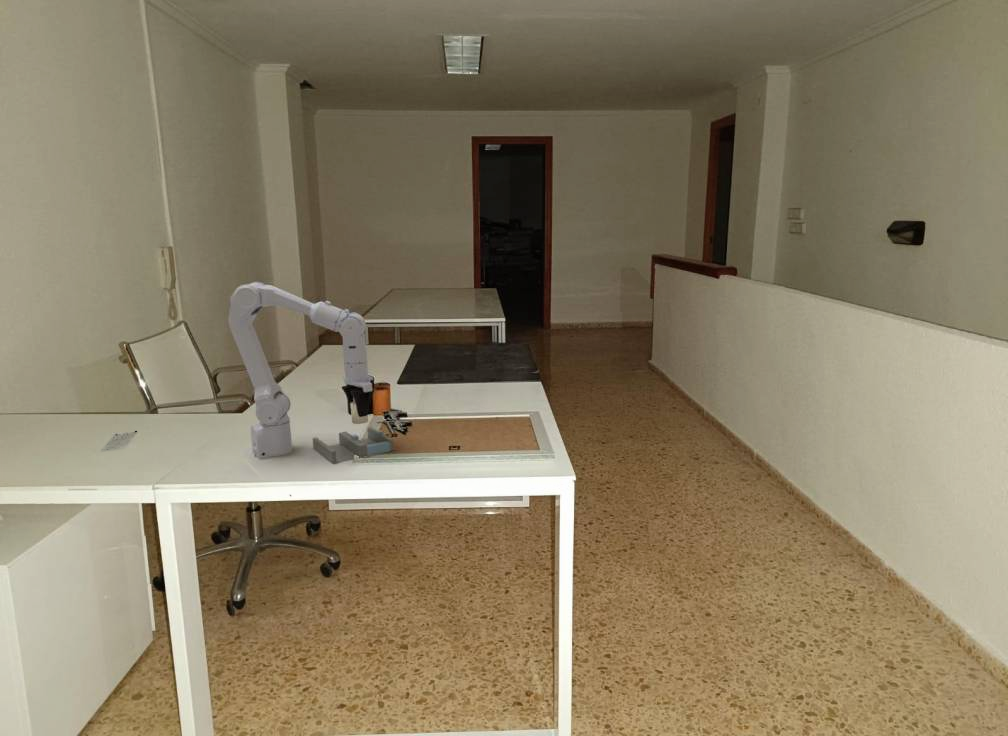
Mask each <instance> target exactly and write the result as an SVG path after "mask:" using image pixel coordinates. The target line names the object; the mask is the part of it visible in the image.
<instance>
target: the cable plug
mask: <svg viewBox="0 0 1008 736" xmlns="http://www.w3.org/2000/svg"><path fill="white" fill-rule="evenodd" d="M353 401H354V402H351V403H350V404H351V408H350V413H351V422H352V423H351V424H354V425H361V424H366V423H369V417H368V415H369V414H368V415H367V416H363V417H359V415H358V412H357V408H356V403H355V400H354V398H353Z"/></svg>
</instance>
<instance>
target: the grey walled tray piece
mask: <svg viewBox="0 0 1008 736" xmlns="http://www.w3.org/2000/svg"><path fill="white" fill-rule="evenodd" d="M366 430H367V437H366V438H363V439H360V437H359V435H358V434H351V433H349V432H348V431H342V432H338V440H339V443H337V444H332V445H328V444H327V443H325V442H323V440H321V439H319V438H318V437H312V446H313V448H312V449H313V450H314V451H315V452H317V454H319V455H320V456H322V457H323V459H325V460H327V461H328V462H329V463H331V464H332V465H335V464H338V463H344V462H348V461H353V460H355V459H354V455H357V456H359V457H363V458H365V457H364V456H367V457H371V456H370V455H372V456H376V455H380V454H385V453H390V452H393V451H394V439H393V438H391V437H390V436H388V435H386V434H384V431H383V430H381V429H376V428H374V427H372V426H367V429H366Z"/></svg>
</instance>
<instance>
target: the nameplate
mask: <svg viewBox="0 0 1008 736" xmlns="http://www.w3.org/2000/svg"><path fill="white" fill-rule="evenodd" d="M383 413H384V415H383V418H384V420H385V421H378V422H376V423H377V424H383V425H385V426H386V428H387V429H388V431H389V433H390V434H391V435H395V434H396V432H398V433H400V434H402V435H404V436H406V435H405V434H406V433H408V429H409V428H408V427H412V426H413V422H412V421H409V420H408V421H407V420H400V418H407V417H408V412H406V411H402V410H401V409H397V408H390V411H384V412H382V414H383ZM395 431H396V432H395Z"/></svg>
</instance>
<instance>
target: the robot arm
mask: <svg viewBox="0 0 1008 736" xmlns="http://www.w3.org/2000/svg"><path fill="white" fill-rule="evenodd" d="M229 301H230V308H229V312H228V320H227V324H228V326H229V329H230V332H231V334H232V336H233V339H234V341H235V344H236V346H237V349H238V352H239V354H240V356H241V359H242V361H243V364H244V367H245V368H246V371H247V374H248V376H249V378H250V381H251V385H252V386H253V389H254V396H253V400H254V403H255V416H256V418H257V420H258V421H259V423H258V424H255V425H251V427H250V437H251V446H252V447H251V448H252V454H253V455H254V456H255V457H256V458H257V459H258V460H262V459H266V458H271V457H272V458H273V457H281V456H284V455H288V454H290V453H292V452H293V443H292V442H293V441H292V431H291V421H290V420H291V419H290V416H289V415H288V412H289V410H290V409H291V400H290V398H289V397H288V395H286V393H285V392H283V391H284V390H283V389H282V387H281V385H280V384H278V383H277V381H276V380H275V378H274V375H273V373H272V370H271V368H270V365H269V363H268V361H267V358H266V355H265V353H264V350H263V348H262V344H261V342H260V340H259V337H258V334H257V332H256V329H255V327H254V324H253V323H254V321H255V319H256V317H257V315H258V313H259V312H260V310H262V309H263V308H266V307H272V306H279V307H282V308H286V309H288V310H291V311H294V312H297V313H299V314H303V315H305V316H308V317H309V319H310V321H311V322H312V323H313V324H315V325H317V326H320V327H323V328H325V329H328V330H331V331H333V332H336V333H337V332H339V334H340V335H341V337H342V355H343V366H344V367H343V368H344V369H343V370H344V374H343V375H342V377H343V383H344V384H345V385H344V386H341V389H342V391H343V392H344V394H345V396H346V399H347V401H348V404H349V409H351V404H350V403H351V402H354V401H353V398H354V400H355V403H356V408H357V412H358V415H359V417H363V416H367V415H369V411H370V410H369V408H370V402H371V400H372V397H373V394H374V393H375V389H374V388H373V383H372V382H371V381H373V380H374V377H373V376H370V375H369V370H368V369H369V368H368V353H367V344H366V335H365V333H364V332H365V330H366V327H367V326H366V325H367V322H366V320H365V318H364V317H363V316H362V315H361V314H359V313H358V312H354V311H353V312H350V309H346V308H345V309H343V308H340V307H337V306H335V305H332V302H331V301H328V300H326V301H325V302H324V301H318V302H316V303H313V302H311V301H309V300H306V299H304V298H301V297H299V296H297V295H294V294H292V293H291V292H288V291H285V290H283V289H281V288H278V287H276V286H274V285H270V284H265V283H263V282H260V281H252V282H251V283H247V284H242V285H239V286H238V287H237V288H236V289H235V290H234V291H233V293H232V294H231V296H230V298H229Z"/></svg>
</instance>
